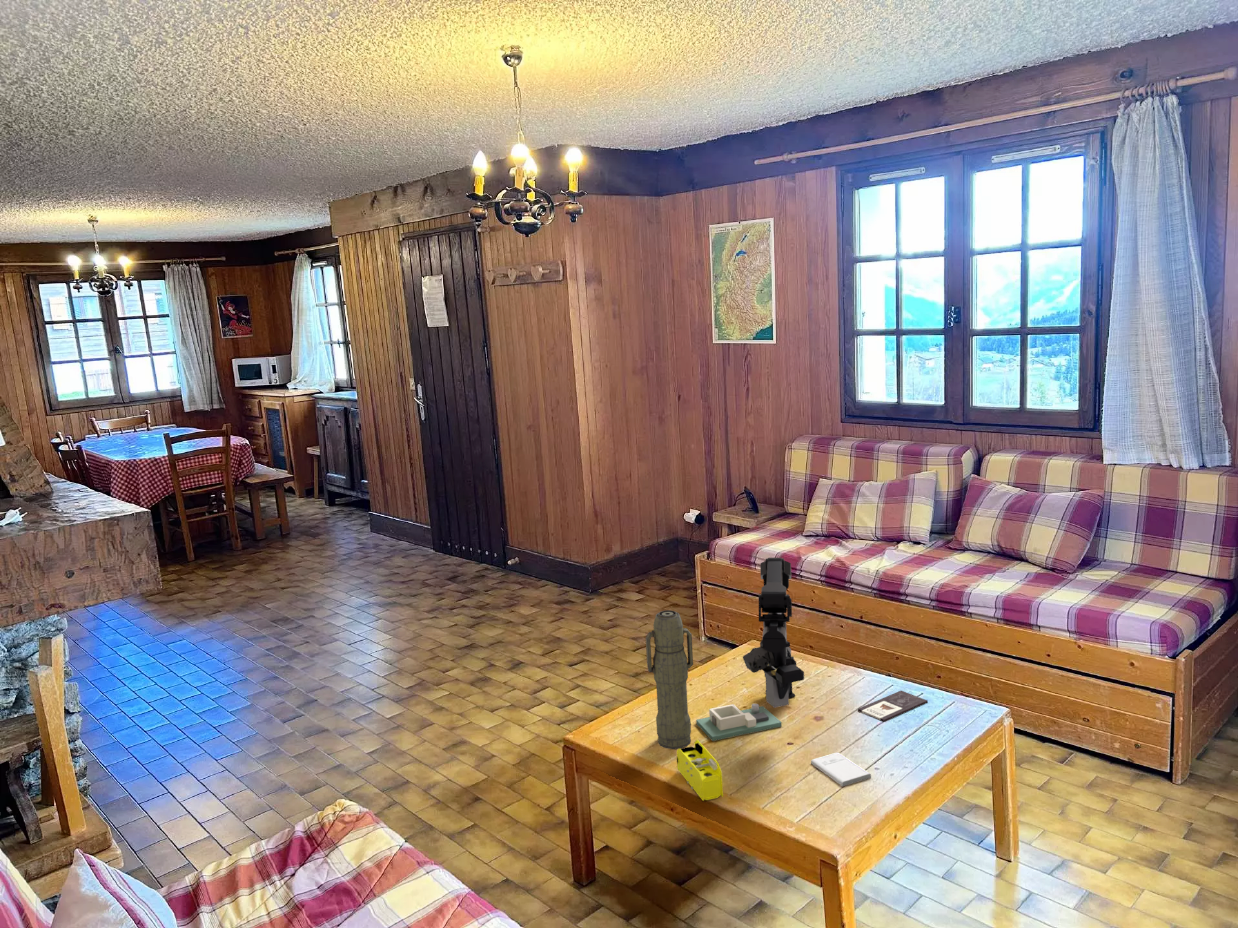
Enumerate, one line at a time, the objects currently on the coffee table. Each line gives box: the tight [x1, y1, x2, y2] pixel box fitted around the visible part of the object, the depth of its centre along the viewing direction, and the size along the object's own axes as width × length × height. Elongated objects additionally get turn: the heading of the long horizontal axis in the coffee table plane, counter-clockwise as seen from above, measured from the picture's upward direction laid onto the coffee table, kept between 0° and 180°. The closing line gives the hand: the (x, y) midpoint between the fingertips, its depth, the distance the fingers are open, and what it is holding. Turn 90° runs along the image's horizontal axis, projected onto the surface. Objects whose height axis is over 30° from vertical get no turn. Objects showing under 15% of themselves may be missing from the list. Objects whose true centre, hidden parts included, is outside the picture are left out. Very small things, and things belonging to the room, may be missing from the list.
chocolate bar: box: [857, 690, 928, 723], centre depth 251 cm, size 9×1×18 cm
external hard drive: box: [810, 751, 872, 787], centre depth 219 cm, size 2×8×12 cm
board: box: [695, 703, 783, 742], centre depth 245 cm, size 20×11×4 cm, turn 108°
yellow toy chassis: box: [676, 739, 724, 802], centre depth 216 cm, size 16×6×8 cm, turn 18°
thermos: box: [645, 609, 694, 750], centre depth 236 cm, size 9×12×35 cm
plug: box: [764, 670, 790, 709], centre depth 234 cm, size 4×4×9 cm
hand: (777, 695), depth 235 cm, fingers closed on plug, 4 cm apart
